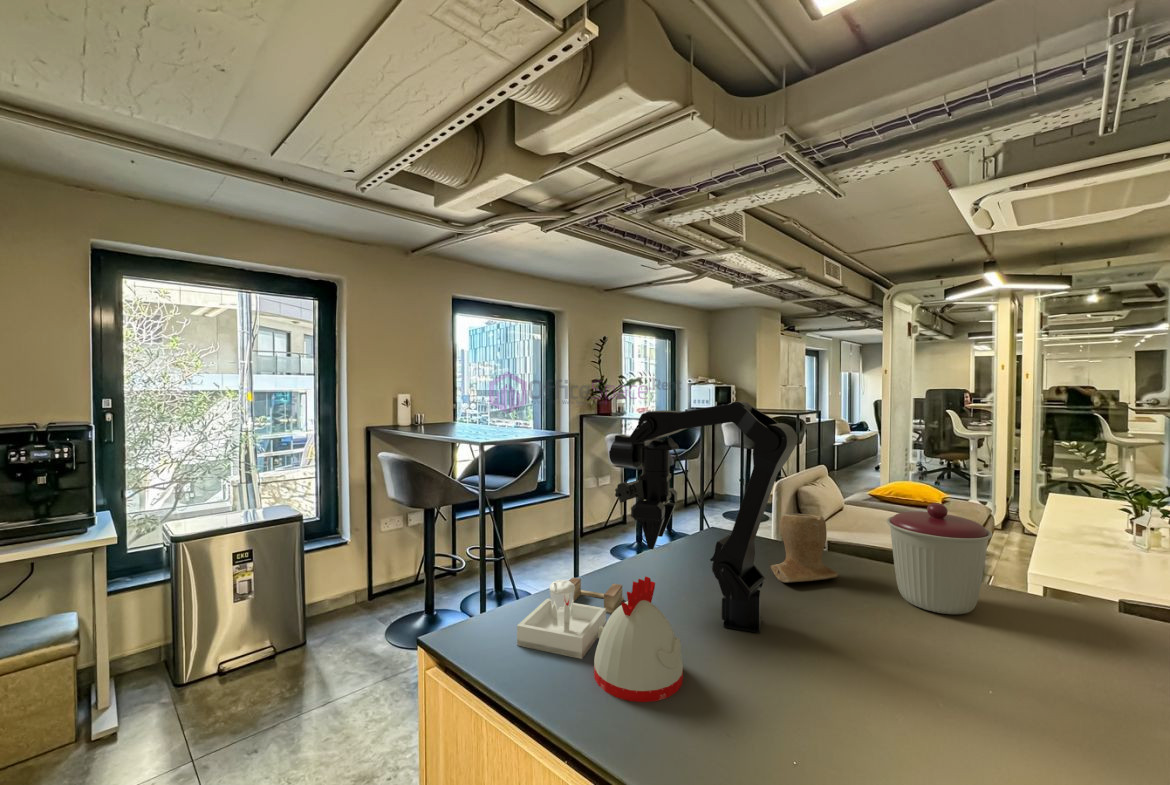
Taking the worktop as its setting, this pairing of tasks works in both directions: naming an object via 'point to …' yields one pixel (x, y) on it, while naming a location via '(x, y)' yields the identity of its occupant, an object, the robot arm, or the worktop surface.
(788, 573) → the tan flared pedestal
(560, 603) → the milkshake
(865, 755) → the worktop surface
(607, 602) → the wooden joined piece
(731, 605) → the robot arm
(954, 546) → the canister
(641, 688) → the kitchen timer
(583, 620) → the tray
